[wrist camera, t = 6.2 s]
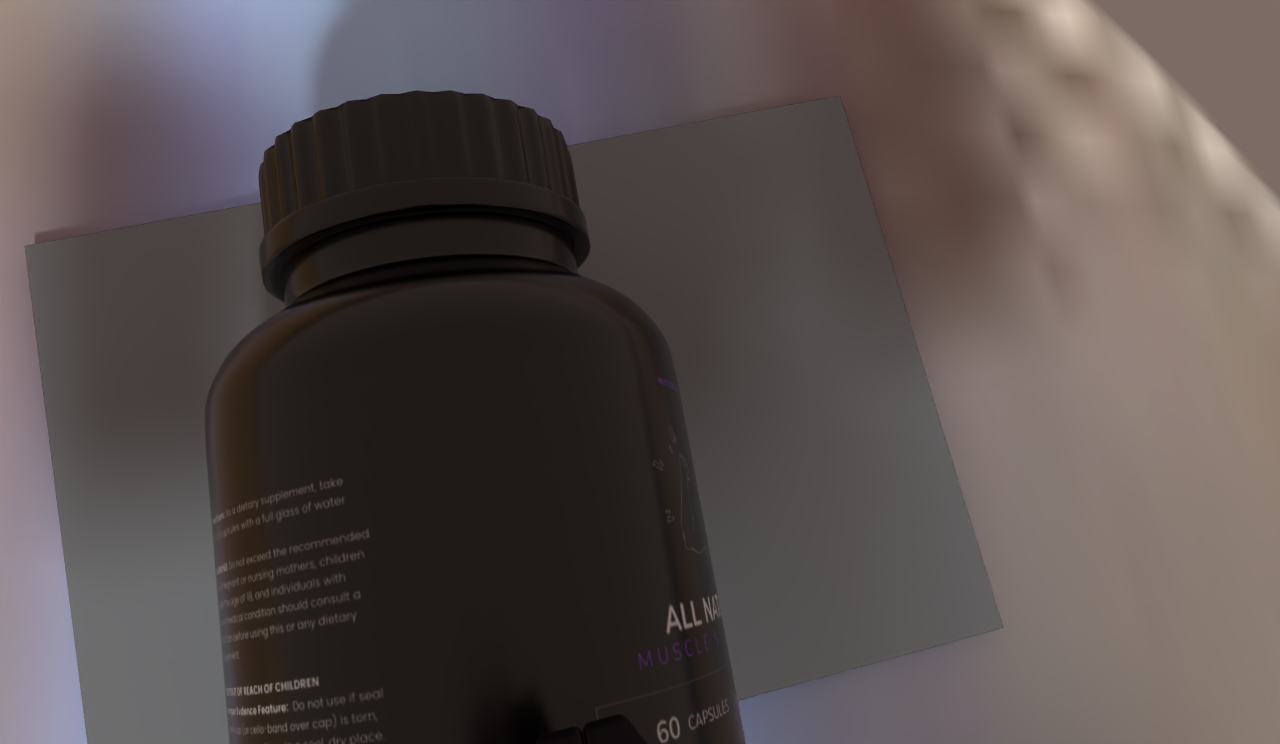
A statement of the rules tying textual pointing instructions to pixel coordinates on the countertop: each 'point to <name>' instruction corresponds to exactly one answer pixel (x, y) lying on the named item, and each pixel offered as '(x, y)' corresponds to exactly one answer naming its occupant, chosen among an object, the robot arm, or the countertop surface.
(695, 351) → the metal sheet
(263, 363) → the supplement bottle
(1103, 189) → the countertop surface
